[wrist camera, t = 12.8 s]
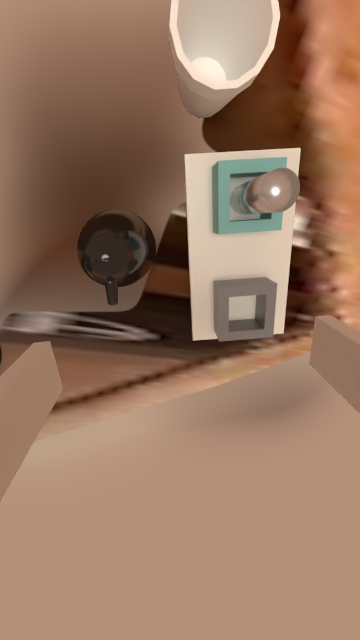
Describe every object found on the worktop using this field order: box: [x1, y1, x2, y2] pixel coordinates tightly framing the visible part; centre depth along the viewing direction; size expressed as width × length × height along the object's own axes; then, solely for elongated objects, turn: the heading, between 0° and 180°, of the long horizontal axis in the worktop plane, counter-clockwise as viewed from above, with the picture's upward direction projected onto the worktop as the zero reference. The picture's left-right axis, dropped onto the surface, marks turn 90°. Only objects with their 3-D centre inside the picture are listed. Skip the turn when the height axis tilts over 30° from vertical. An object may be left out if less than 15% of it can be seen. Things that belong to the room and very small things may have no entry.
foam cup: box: [169, 0, 280, 118], centre depth 29 cm, size 10×9×13 cm
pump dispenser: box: [77, 209, 156, 305], centre depth 34 cm, size 10×10×15 cm
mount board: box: [184, 148, 301, 341], centre depth 40 cm, size 16×28×6 cm, turn 3°
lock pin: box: [230, 168, 300, 214], centre depth 32 cm, size 4×4×13 cm
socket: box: [212, 157, 287, 234], centre depth 36 cm, size 9×9×4 cm
